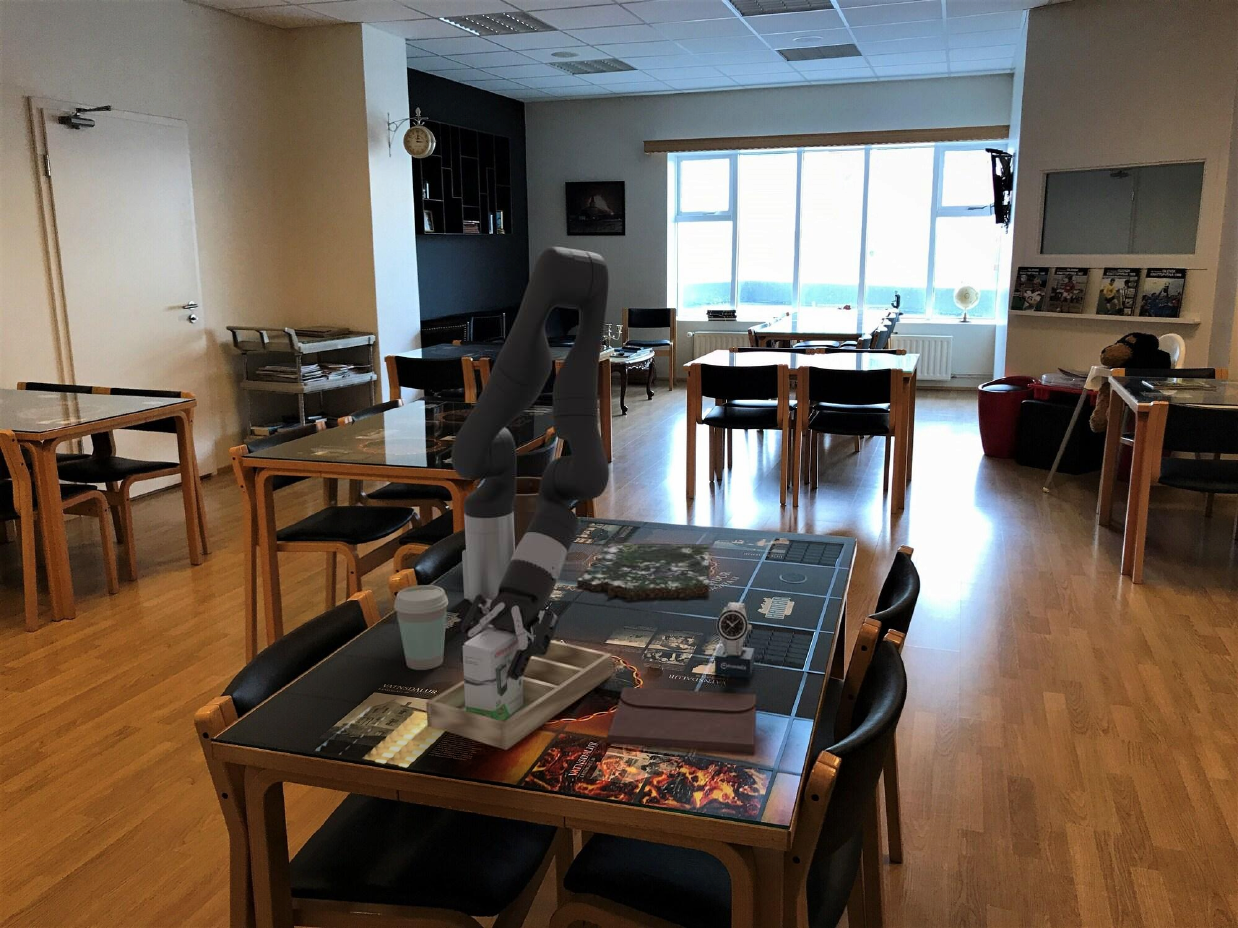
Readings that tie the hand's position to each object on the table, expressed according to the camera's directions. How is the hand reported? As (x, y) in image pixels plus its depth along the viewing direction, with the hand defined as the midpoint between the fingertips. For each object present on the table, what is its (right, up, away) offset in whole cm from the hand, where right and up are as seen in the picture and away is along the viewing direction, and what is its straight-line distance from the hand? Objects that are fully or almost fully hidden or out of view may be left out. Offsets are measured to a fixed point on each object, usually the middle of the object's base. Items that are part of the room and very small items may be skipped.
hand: (488, 671), depth 137 cm
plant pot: (-2, +9, +76) cm, 76 cm away
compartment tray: (+4, -6, +8) cm, 11 cm away
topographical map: (+24, +6, +65) cm, 69 cm away
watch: (+37, -4, +17) cm, 41 cm away
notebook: (+28, -8, +1) cm, 29 cm away
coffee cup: (-13, -3, +22) cm, 26 cm away
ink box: (+1, -7, +3) cm, 8 cm away
